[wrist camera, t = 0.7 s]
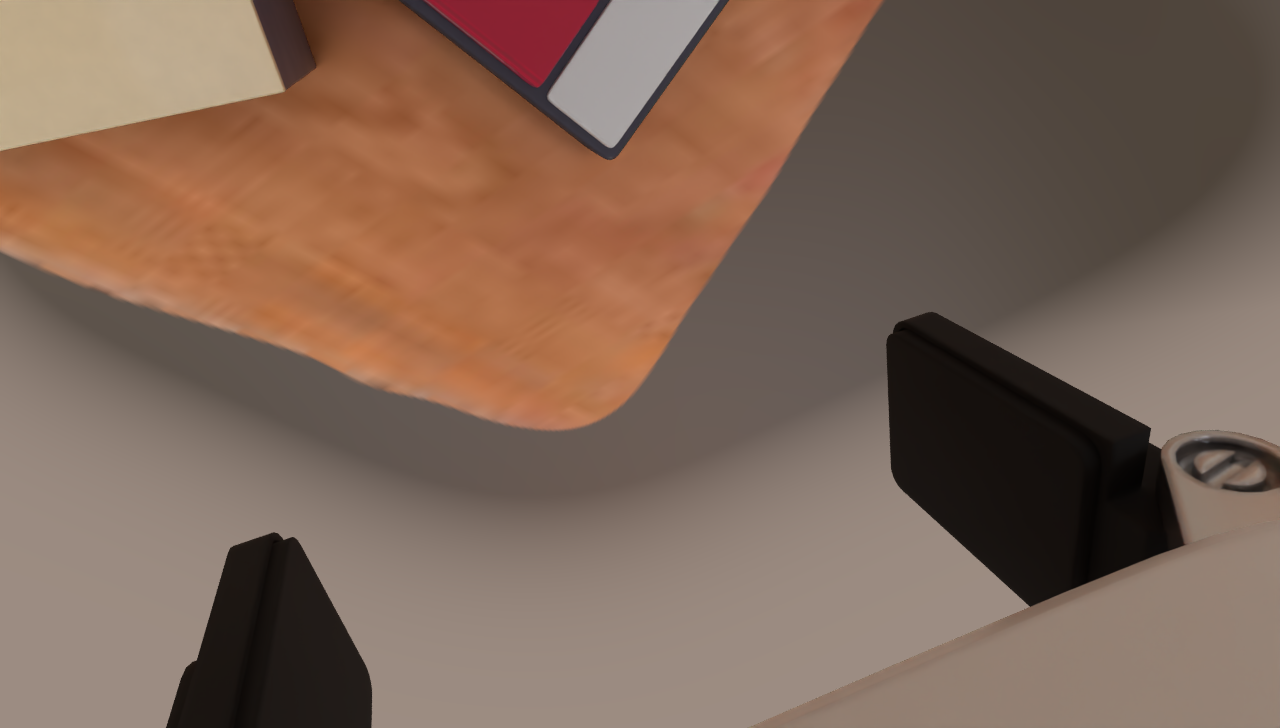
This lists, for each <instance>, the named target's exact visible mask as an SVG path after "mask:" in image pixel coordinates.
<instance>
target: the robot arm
mask: <svg viewBox="0 0 1280 728" xmlns="http://www.w3.org/2000/svg"><path fill="white" fill-rule="evenodd" d="M886 346H887V373H888V400H889V427H890V453H891V470H892V473H893V477H894V479H895V481H896V483H897V484H898V486H899V487H900V488H901V489H902V490H903V491H904V492H905V493H906V494H907V495H908V496H909V497H910V498H911V499H913V500H914V501H915V502H916V503H917V504H918V505H919V506H920V507H921V508H922V509H923V510H925V511H926V512H927V513H928V514H929V515H930V516H931V517H932V518H933V519H934V520H936V521H937V522H938V523H939V524H940V525H941V526H942V527H943V528H944V529H945V530H947V531H948V532H949V533H950V534H951V535H952V536H953V537H954V538H955V539H957V540H958V541H959V542H960V543H961V544H962V545H963V546H964V547H965V548H966V549H967V550H968V551H970V552H971V553H972V554H973V555H974V556H975V557H976V558H977V559H978V560H980V561H981V562H982V563H983V564H984V565H985V566H986V567H987V568H988V569H989V570H990V571H992V572H993V573H994V574H995V575H996V576H997V577H998V578H999V579H1000V580H1001V581H1002V582H1004V583H1005V584H1006V585H1007V586H1008V587H1009V588H1010V589H1011V590H1012V591H1014V592H1015V593H1016V594H1017V595H1018V596H1019V597H1020V598H1021V599H1022V600H1023V601H1024V602H1026V603H1027V604H1028V605H1029V606H1030V607H1029V608H1027V609H1024V610H1022V611H1020V612H1017V613H1015V614H1013V615H1010V616H1008V617H1005V618H1003V619H1001V620H998V621H996V622H994V623H991V624H989V625H987V626H984V627H982V628H980V629H977V630H975V631H972V632H970V633H968V634H966V635H963V636H961V637H958V638H956V639H954V640H951V641H949V642H947V643H944V644H942V645H940V646H937V647H935V648H932V649H930V650H928V651H926V652H923V653H921V654H918V655H916V656H914V657H911V658H909V659H907V660H904V661H902V662H900V663H897V664H895V665H893V666H891V667H888V668H886V669H883V670H881V671H879V672H877V673H874V674H872V675H869V676H867V677H865V678H863V679H860V680H858V681H856V682H853V683H851V684H849V685H847V686H844V687H842V688H839V689H837V690H835V691H832V692H830V693H828V694H825V695H823V696H821V697H819V698H816V699H814V700H812V701H809V702H807V703H805V704H802V705H800V706H798V707H796V708H793V709H791V710H789V711H786V712H784V713H782V714H779V715H777V716H775V717H772V718H770V719H768V720H765V721H763V722H761V723H758V724H756V725H754V726H751V727H749V728H1280V447H1279V446H1277V445H1275V444H1272V443H1269V442H1267V441H1265V440H1263V439H1260V438H1256V437H1253V436H1249V435H1245V434H1241V433H1236V432H1228V431H1220V430H1205V431H1204V430H1203V431H1202V430H1201V431H1193V432H1188V433H1183V434H1179V435H1178V436H1175V437H1173V438H1171V439H1170V440H1168V441H1167V442H1166V444H1165V445H1164V446H1163V447H1162V449H1160V448H1158V447H1156V446H1154V445H1153V444H1151V443H1149V437H1150V431H1151V428H1149V427H1148V426H1146V425H1144V424H1142V423H1140V422H1139V421H1137V420H1135V419H1133V418H1131V417H1129V416H1127V415H1125V414H1123V413H1122V412H1120V411H1118V410H1116V409H1114V408H1112V407H1111V406H1109V405H1107V404H1105V403H1103V402H1101V401H1099V400H1097V399H1096V398H1094V397H1092V396H1090V395H1088V394H1086V393H1084V392H1083V391H1081V390H1079V389H1077V388H1075V387H1073V386H1071V385H1069V384H1067V383H1066V382H1064V381H1062V380H1060V379H1058V378H1056V377H1054V376H1052V375H1051V374H1049V373H1047V372H1045V371H1043V370H1041V369H1039V368H1038V367H1036V366H1034V365H1032V364H1030V363H1028V362H1026V361H1024V360H1023V359H1021V358H1019V357H1017V356H1015V355H1013V354H1012V353H1010V352H1008V351H1006V350H1004V349H1002V348H1000V347H999V346H997V345H995V344H993V343H991V342H989V341H987V340H985V339H984V338H981V337H980V336H978V335H976V334H974V333H972V332H970V331H968V330H967V329H965V328H963V327H961V326H959V325H957V324H955V323H954V322H952V321H950V320H948V319H946V318H944V317H942V316H941V315H939V314H937V313H934V312H928V313H925V314H922V315H919V316H916V317H913V318H910V319H907V320H904V321H901V322H898V323H897V324H896V325H895V328H894V330H893V334H890V335H889V336H888V338H887V344H886ZM371 720H372V687H371V681H370V676H369V673H368V670H367V668H366V665H365V663H364V662H363V660H362V658H361V656H360V654H359V652H358V650H357V649H356V647H355V645H354V643H353V641H352V639H351V637H350V636H349V634H348V632H347V630H346V628H345V626H344V624H343V623H342V621H341V619H340V617H339V615H338V613H337V612H336V610H335V608H334V606H333V604H332V602H331V600H330V599H329V597H328V595H327V593H326V591H325V590H324V587H323V585H322V584H321V582H320V580H319V578H318V576H317V574H316V572H315V571H314V569H313V567H312V565H311V563H310V561H309V559H308V558H307V556H306V554H305V552H304V550H303V548H302V547H301V545H300V543H299V542H298V540H297V539H295V538H294V537H291V538H288V539H286V540H283V538H282V537H281V536H280V535H279V534H278V533H271V534H268V535H265V536H262V537H259V538H256V539H253V540H250V541H247V542H244V543H241V544H238V545H235V546H233V547H231V548H230V550H229V552H228V555H227V558H226V562H225V565H224V569H223V572H222V576H221V579H220V582H219V586H218V589H217V593H216V596H215V600H214V603H213V606H212V610H211V613H210V617H209V620H208V624H207V627H206V631H205V634H204V638H203V641H202V644H201V648H200V651H199V655H198V658H197V661H194V662H192V663H191V664H190V665H189V666H187V667H186V669H185V671H184V674H183V676H182V678H181V681H180V684H179V687H178V690H177V694H176V697H175V700H174V704H173V707H172V710H171V713H170V717H169V720H168V723H167V727H166V728H371Z"/></svg>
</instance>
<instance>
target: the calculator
mask: <svg viewBox="0 0 1280 728" xmlns="http://www.w3.org/2000/svg"><path fill="white" fill-rule="evenodd" d="M399 1H400V2H402V3H403V4H404V5H405V6H407V7H408V8H409V9H411V10H412V11H413V12H414V13H416V14H417V15H418V16H420V17H421V18H422V19H423V20H425V21H426V22H427V23H429V24H430V25H431V26H432V27H434V28H435V29H436V30H438V31H439V32H440V33H441V34H443V35H444V36H445V37H446V38H448V39H449V40H450V41H452V42H453V43H454V44H455V45H457V46H458V47H459V48H461V49H462V50H463V51H464V52H466V53H467V54H468V55H470V56H471V57H472V58H473V59H475V60H476V61H477V62H479V63H480V64H481V65H482V66H484V67H485V68H486V69H488V70H489V71H490V72H491V73H493V74H494V75H495V76H497V77H498V78H499V79H500V80H502V81H503V82H504V83H505V84H507V85H508V86H509V87H511V88H512V89H513V90H514V91H516V92H517V93H518V94H520V95H521V96H522V97H523V98H525V99H526V100H527V101H528V102H530V103H531V104H532V105H533V106H535V107H536V108H537V109H538V110H540V111H541V112H542V113H543V114H545V115H546V116H547V117H549V118H550V119H551V120H552V121H554V122H555V123H556V124H558V125H559V126H560V127H561V128H563V129H564V130H565V131H566V132H568V133H569V134H570V135H572V136H573V137H574V138H575V139H577V140H578V141H579V142H581V143H582V144H583V145H584V146H586V147H587V148H588V149H590V150H591V151H593V152H595V153H596V154H598V155H600V156H601V157H603V158H605V159H607V160H612V159H615V158H616V157H617V156H618V155H619V153H620V152H621V151H622V149H623V148H624V147H625V145H626V144H627V142H628V141H629V140H630V138H631V137H632V135H633V134H634V133H635V131H636V130H637V128H638V127H639V126H640V124H641V123H642V121H643V120H644V119H645V117H646V116H647V114H648V113H649V112H650V110H651V109H652V107H653V106H654V105H655V103H656V102H657V100H658V99H659V98H660V96H661V95H662V93H663V92H664V91H665V89H666V88H667V86H668V85H669V84H670V82H671V81H672V79H673V78H674V77H675V75H676V74H677V72H678V71H679V70H680V68H681V67H682V65H683V64H684V62H685V61H686V60H687V58H688V57H689V55H690V54H691V53H692V51H693V50H694V48H695V47H696V46H697V44H698V43H699V41H700V40H701V39H702V37H703V36H704V34H705V33H706V32H707V30H708V29H709V27H710V26H711V25H712V23H713V22H714V20H715V19H716V18H717V16H718V15H719V13H720V12H721V11H722V9H723V8H724V6H725V5H726V4H727V2H728V1H729V0H399Z"/></svg>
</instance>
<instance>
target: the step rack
mask: <svg viewBox="0 0 1280 728" xmlns="http://www.w3.org/2000/svg"><path fill="white" fill-rule="evenodd" d="M315 68H316V64H315V61H314V59H313V56H312V53H311V50H310V47H309V44H308V41H307V39H306V36H305V33H304V30H303V27H302V24H301V22H300V19H299V16H298V13H297V10H296V7H295V4H294V2H293V0H0V151H4V150H8V149H13V148H18V147H23V146H28V145H33V144H37V143H42V142H47V141H52V140H57V139H61V138H66V137H71V136H76V135H81V134H86V133H90V132H95V131H100V130H105V129H110V128H115V127H119V126H124V125H129V124H134V123H139V122H143V121H148V120H153V119H158V118H163V117H168V116H172V115H177V114H182V113H187V112H192V111H197V110H201V109H206V108H211V107H216V106H221V105H226V104H230V103H235V102H240V101H245V100H250V99H254V98H259V97H264V96H269V95H274V94H279V93H283V92H285V91H286V90H287V89H288V88H289V87H291V86H292V85H293V84H295V83H296V82H298V81H299V80H300V79H302V78H303V77H304V76H306V75H307V74H308V73H310V72H311V71H312V70H314V69H315Z"/></svg>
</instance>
